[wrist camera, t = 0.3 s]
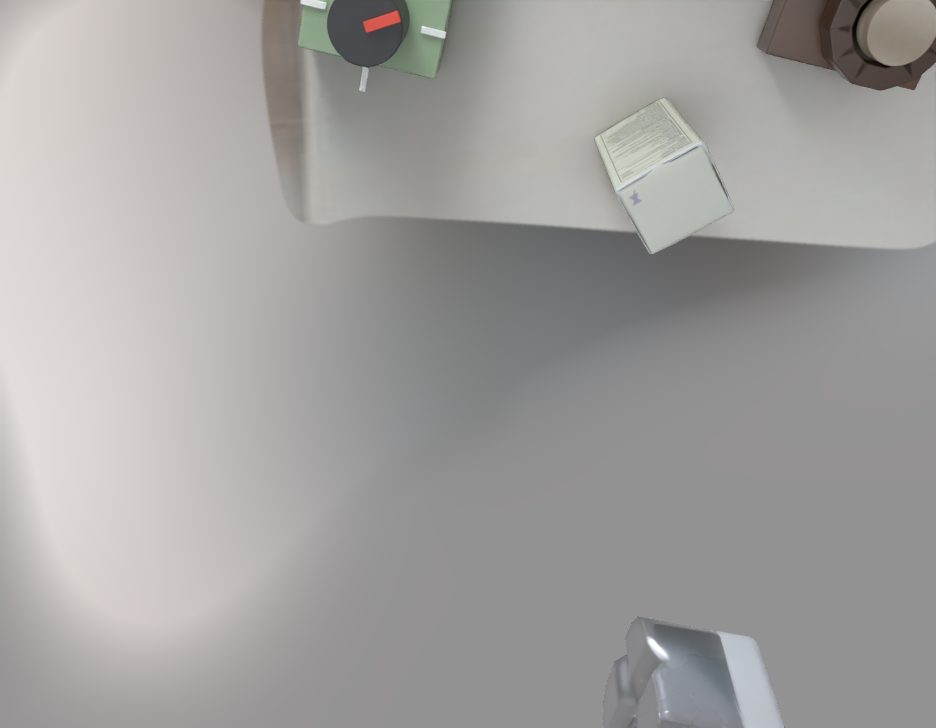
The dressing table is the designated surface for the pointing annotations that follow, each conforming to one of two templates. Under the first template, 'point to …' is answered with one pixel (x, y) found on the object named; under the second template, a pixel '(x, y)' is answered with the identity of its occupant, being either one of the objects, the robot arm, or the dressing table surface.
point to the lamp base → (834, 42)
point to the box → (663, 175)
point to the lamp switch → (896, 30)
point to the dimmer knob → (367, 29)
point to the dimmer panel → (415, 53)
